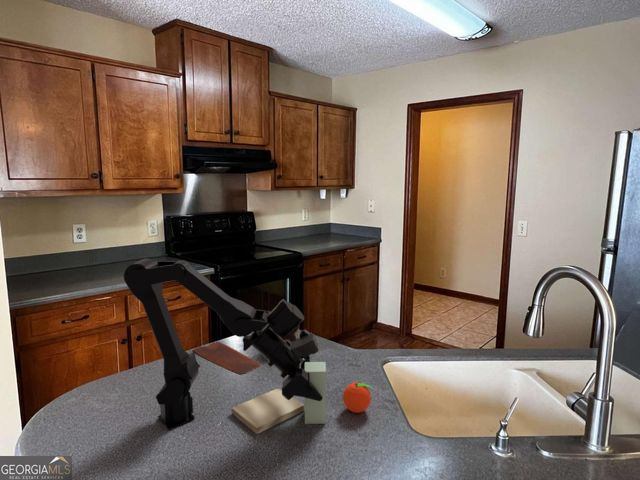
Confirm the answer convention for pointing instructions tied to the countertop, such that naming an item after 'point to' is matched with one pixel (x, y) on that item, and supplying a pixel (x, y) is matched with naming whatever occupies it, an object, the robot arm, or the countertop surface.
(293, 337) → the coffee mug
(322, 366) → the green block
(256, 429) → the birch board
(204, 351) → the wooden tablet
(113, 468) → the countertop surface
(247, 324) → the robot arm
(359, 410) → the clementine
